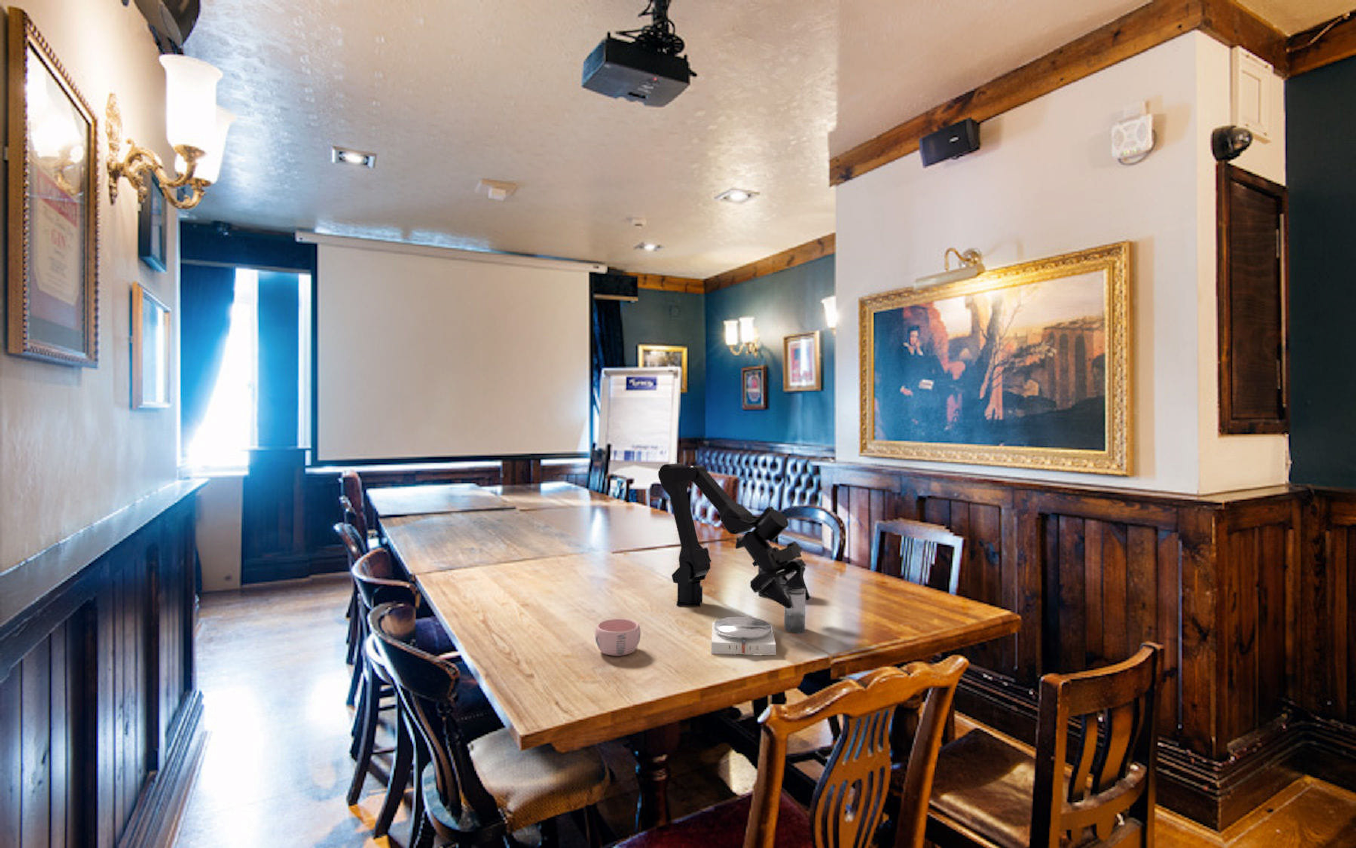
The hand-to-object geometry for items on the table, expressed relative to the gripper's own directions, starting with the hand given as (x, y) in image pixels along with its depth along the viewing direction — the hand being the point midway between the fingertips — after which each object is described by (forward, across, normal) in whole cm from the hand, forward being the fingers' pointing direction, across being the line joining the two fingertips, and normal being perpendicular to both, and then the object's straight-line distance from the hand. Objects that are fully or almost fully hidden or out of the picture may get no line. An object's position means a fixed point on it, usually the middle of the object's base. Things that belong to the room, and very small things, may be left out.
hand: (799, 603), depth 158 cm
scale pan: (+1, -17, +8) cm, 19 cm away
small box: (-10, +24, +20) cm, 33 cm away
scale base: (+1, -16, +9) cm, 19 cm away
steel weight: (+4, 0, +6) cm, 7 cm away
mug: (-12, -38, +22) cm, 46 cm away
